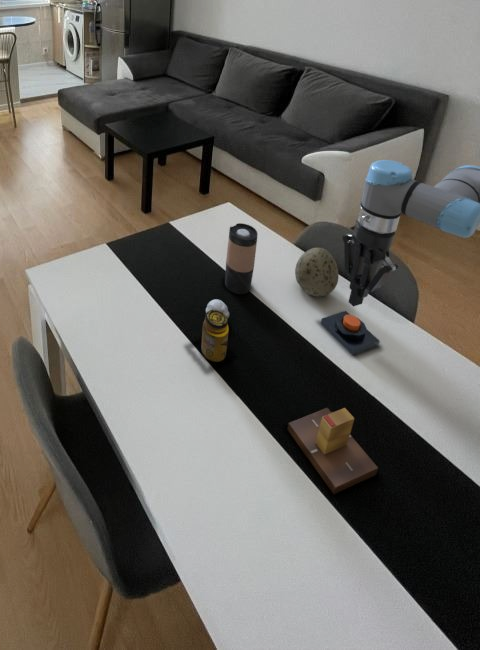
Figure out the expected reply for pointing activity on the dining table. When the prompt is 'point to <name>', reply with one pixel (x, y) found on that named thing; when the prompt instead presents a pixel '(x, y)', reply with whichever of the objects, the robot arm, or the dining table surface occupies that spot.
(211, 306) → the white lumpy ball
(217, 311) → the condiment
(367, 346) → the switch block
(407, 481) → the dining table surface
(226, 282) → the travel mug
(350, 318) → the button
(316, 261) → the decorative egg
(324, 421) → the yellow upright flat block
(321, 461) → the brown wooden flat block
